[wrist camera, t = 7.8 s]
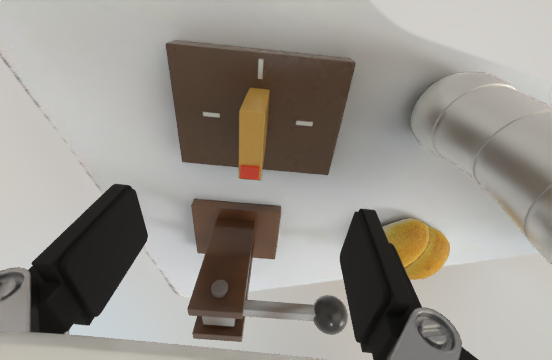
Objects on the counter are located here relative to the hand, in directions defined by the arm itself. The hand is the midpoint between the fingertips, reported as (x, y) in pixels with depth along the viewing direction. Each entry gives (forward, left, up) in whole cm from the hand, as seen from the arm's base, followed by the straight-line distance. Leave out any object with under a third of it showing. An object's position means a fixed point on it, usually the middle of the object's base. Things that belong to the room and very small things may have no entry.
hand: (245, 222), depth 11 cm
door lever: (-3, +15, -6) cm, 16 cm away
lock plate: (+1, 0, -14) cm, 14 cm away
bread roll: (-18, +15, -15) cm, 28 cm away
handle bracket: (+3, +15, -14) cm, 21 cm away
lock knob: (+1, 0, -12) cm, 12 cm away
